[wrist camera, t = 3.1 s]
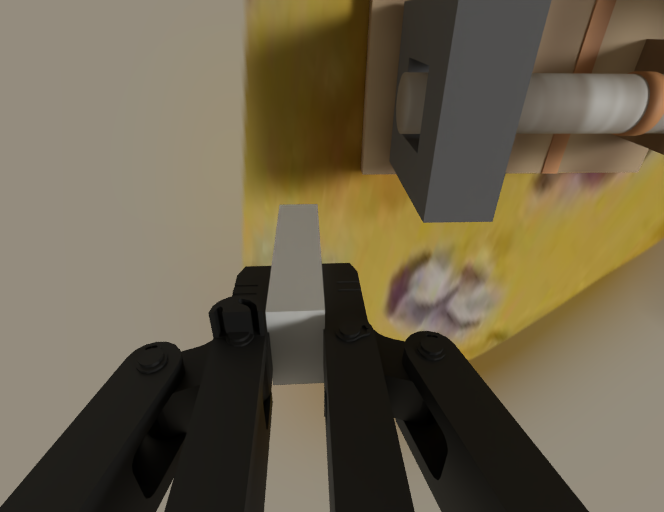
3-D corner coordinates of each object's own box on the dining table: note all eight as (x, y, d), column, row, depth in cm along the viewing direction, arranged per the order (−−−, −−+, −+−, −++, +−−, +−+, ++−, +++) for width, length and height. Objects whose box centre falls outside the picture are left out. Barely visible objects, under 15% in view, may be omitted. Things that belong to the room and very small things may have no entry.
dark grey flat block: (389, 161, 23) (423, 222, 16) (404, 1, 19) (459, -7, 12) (438, 160, 23) (492, 221, 16) (464, 2, 19) (552, -6, 12)
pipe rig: (360, 168, 25) (382, 232, 17) (371, -23, 19) (408, -45, 12) (627, 167, 25) (751, 226, 18) (708, -16, 20) (929, -33, 13)
